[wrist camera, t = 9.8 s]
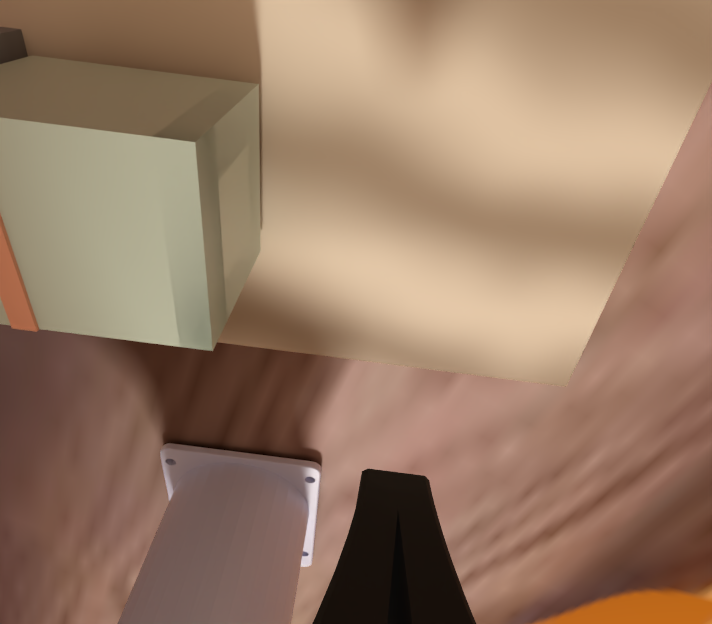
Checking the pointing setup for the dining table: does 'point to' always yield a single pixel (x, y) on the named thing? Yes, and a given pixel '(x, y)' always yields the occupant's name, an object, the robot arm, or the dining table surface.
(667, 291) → the dining table surface
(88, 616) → the dining table surface
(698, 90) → the stud board
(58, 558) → the dining table surface
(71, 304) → the pale green cube
